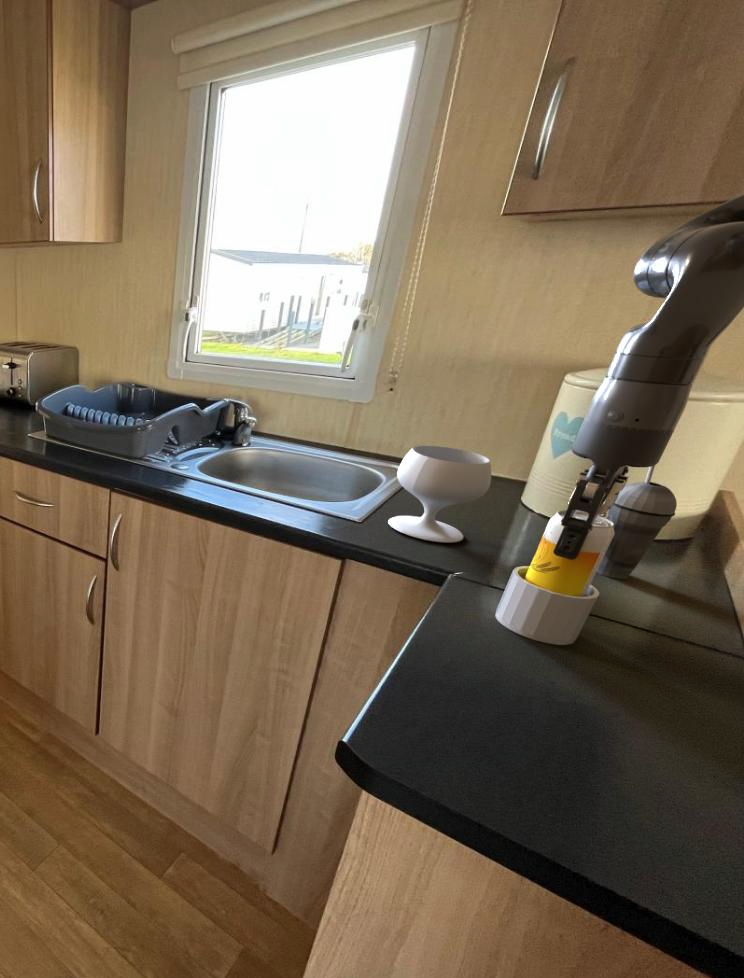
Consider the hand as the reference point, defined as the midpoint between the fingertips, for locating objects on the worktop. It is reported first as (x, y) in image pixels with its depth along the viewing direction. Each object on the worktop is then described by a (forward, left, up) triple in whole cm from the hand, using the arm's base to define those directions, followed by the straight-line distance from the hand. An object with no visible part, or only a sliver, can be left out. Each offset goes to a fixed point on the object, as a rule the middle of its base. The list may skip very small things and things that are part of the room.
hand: (570, 549), depth 70 cm
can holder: (0, 0, -12) cm, 12 cm away
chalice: (+22, -24, -12) cm, 35 cm away
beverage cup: (-3, -31, -12) cm, 33 cm away
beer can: (0, 0, -11) cm, 11 cm away
